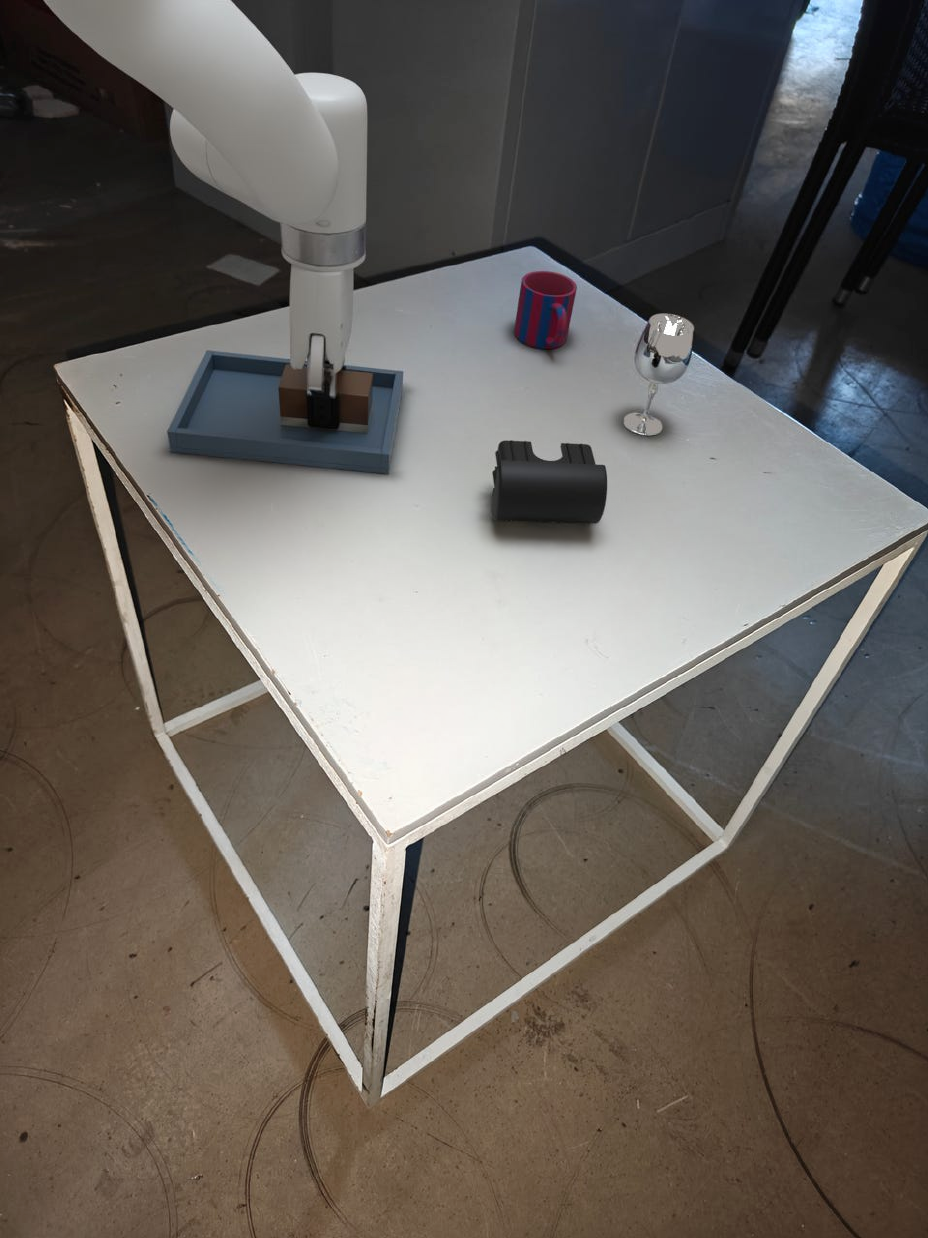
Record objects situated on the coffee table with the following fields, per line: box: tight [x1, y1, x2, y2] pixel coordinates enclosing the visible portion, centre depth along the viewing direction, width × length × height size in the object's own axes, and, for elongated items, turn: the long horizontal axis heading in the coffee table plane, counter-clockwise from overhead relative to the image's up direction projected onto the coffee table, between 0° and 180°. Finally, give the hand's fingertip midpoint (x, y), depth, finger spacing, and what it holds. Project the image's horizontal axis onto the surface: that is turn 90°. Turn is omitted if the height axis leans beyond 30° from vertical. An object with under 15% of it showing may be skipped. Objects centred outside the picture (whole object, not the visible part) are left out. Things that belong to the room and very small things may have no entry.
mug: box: [513, 270, 578, 350], centre depth 105 cm, size 7×10×7 cm
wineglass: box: [622, 313, 695, 437], centre depth 92 cm, size 6×6×12 cm
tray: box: [166, 349, 404, 475], centre depth 90 cm, size 22×16×2 cm
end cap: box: [490, 439, 608, 525], centre depth 81 cm, size 10×7×7 cm
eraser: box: [278, 364, 373, 434], centre depth 89 cm, size 9×4×4 cm, turn 88°
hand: (327, 411), depth 90 cm, fingers closed on eraser, 4 cm apart
